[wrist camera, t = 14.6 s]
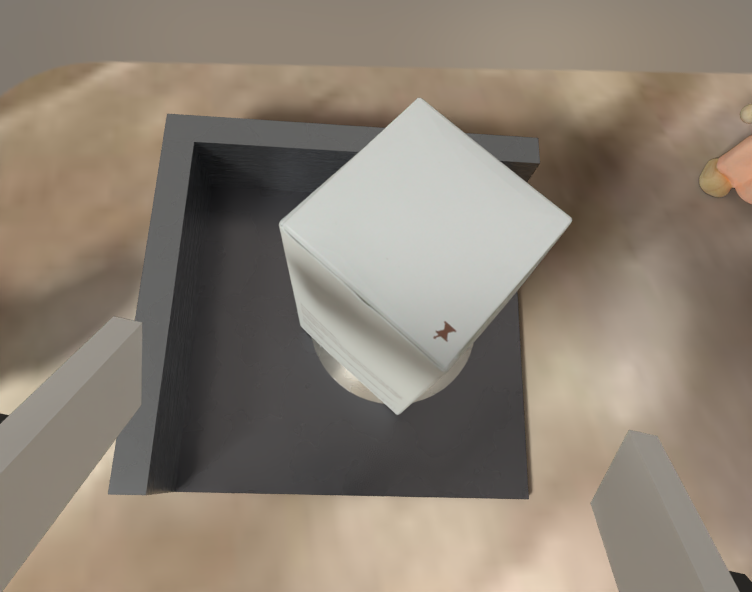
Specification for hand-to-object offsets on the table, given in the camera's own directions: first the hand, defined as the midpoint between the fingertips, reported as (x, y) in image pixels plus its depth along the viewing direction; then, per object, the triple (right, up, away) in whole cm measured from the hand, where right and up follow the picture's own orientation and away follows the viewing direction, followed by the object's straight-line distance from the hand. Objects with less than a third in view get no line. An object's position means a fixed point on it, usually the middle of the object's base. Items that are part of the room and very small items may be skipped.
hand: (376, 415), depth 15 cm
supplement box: (+1, +2, +16) cm, 16 cm away
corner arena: (-2, +2, +16) cm, 16 cm away
